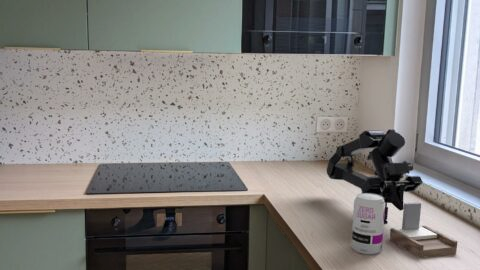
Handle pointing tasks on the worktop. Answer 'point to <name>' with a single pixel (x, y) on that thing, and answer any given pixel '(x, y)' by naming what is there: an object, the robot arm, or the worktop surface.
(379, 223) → the supplement can
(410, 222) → the lid
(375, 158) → the robot arm
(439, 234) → the board
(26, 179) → the worktop surface
